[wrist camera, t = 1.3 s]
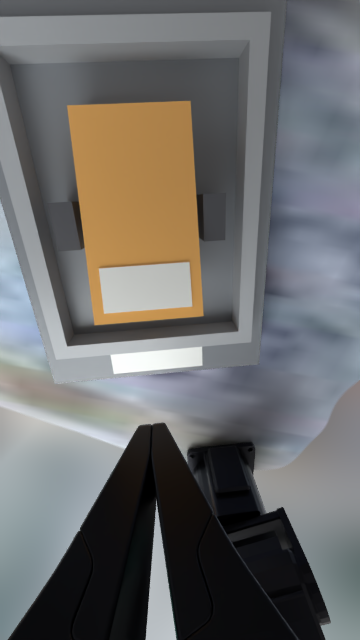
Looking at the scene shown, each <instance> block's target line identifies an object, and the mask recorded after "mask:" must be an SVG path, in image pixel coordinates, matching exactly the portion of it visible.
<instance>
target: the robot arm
mask: <svg viewBox="0 0 360 640" xmlns="http://www.w3.org/2000/svg"><path fill="white" fill-rule="evenodd" d="M192 454H193V455H192ZM254 459H255V447H254V444H253V443H240V444H231V445H222V446H213V447H204V448H195V449H190V450H188V452H187V461H188V464H187V462H186V460H185V459H184V457H183V455H182V453H181V451H180V449H179V448H178V446H177V444H176V442H175V440H174V439H173V437H172V435H171V433H170V431H169V429H168V428H167V426H166V424H165V423H155V424H153V425H151V424H146V425H140V426H139V427H138V428H137V430H136V431H135V433H134V435H133V437H132V438H131V440H130V442H129V444H128V445H127V447H126V449H125V451H124V453H123V454H122V456H121V458H120V459H119V461H118V463H117V465H116V466H115V468H114V470H113V472H112V473H111V475H110V477H109V479H108V480H107V482H106V484H105V485H104V487H103V489H102V491H101V492H100V494H99V496H98V498H97V499H96V501H95V503H94V505H93V506H92V508H91V510H90V512H89V513H88V515H87V517H86V519H85V521H84V522H83V524H82V525H81V527H80V531H78V532H77V534H76V536H75V537H74V539H73V541H72V543H71V545H70V546H69V548H68V550H67V551H66V553H65V555H64V556H63V558H62V559H61V561H60V563H59V564H58V566H57V568H56V569H55V571H54V573H53V574H52V576H51V577H50V579H49V580H48V582H47V583H46V585H45V586H44V587H43V589H42V590H41V592H40V594H39V595H38V597H37V598H36V600H35V601H34V603H33V604H32V605H31V607H30V608H29V610H28V611H27V613H26V614H25V615H24V617H23V618H22V620H21V621H20V623H19V624H18V625H17V627H16V628H15V630H14V631H13V633H12V634H11V636H10V637H9V639H8V640H145V639H146V625H147V614H148V601H149V588H150V575H151V561H152V549H153V537H154V524H155V523H154V522H155V510H156V500H157V507H158V513H159V520H160V527H161V534H162V541H163V548H164V555H165V562H166V569H167V576H168V583H169V590H170V597H171V604H172V611H173V618H174V625H175V631H176V639H177V640H325V637H324V635H323V632H322V629H321V625H325V624H329V623H331V621H330V618H329V615H328V612H327V609H326V606H325V603H324V601H323V598H322V595H321V593H320V590H319V588H318V585H317V583H316V580H315V578H314V575H313V573H312V570H311V568H310V566H309V563H308V561H307V559H306V557H305V554H304V552H303V550H302V548H301V546H300V543H299V541H298V539H297V537H296V535H295V532H294V530H293V528H292V526H291V523H290V521H289V519H288V517H287V515H286V513H285V510H284V508H283V507H281V508H278V509H277V510H276V511H273V512H270V513H266V510H265V508H264V505H263V502H262V499H261V496H260V494H259V491H258V488H257V485H256V483H255V480H254V477H253V471H254Z"/></svg>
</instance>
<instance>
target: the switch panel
mask: <svg viewBox="0 0 360 640" xmlns="http://www.w3.org/2000/svg"><path fill="white" fill-rule="evenodd" d="M286 5H287V0H0V199H1V203H2V206H3V210H4V213H5V216H6V220H7V223H8V227H9V230H10V233H11V237H12V240H13V243H14V247H15V250H16V254H17V257H18V260H19V264H20V267H21V271H22V274H23V277H24V281H25V284H26V288H27V291H28V294H29V298H30V301H31V305H32V308H33V311H34V315H35V318H36V321H37V325H38V328H39V332H40V335H41V338H42V342H43V345H44V349H45V352H46V355H47V359H48V362H49V366H50V369H51V372H52V376H53V379H54V382H55V384H58V383H68V382H79V381H89V380H100V379H110V378H121V377H131V376H142V375H152V374H163V373H173V372H184V371H194V370H205V369H216V368H226V367H237V366H247V365H258V364H259V357H260V344H261V331H262V318H263V305H264V292H265V279H266V266H267V253H268V240H269V227H270V214H271V201H272V188H273V175H274V162H275V149H276V136H277V123H278V110H279V97H280V84H281V71H282V58H283V44H284V31H285V18H286ZM171 101H191V117H192V133H193V150H194V166H195V183H196V199H197V215H198V232H199V248H200V265H201V281H202V298H203V314H204V316H200V317H188V318H176V319H164V320H152V321H140V322H128V323H116V324H104V325H94V317H93V309H92V301H91V293H90V285H89V277H88V269H87V261H86V253H85V245H84V237H83V229H82V221H81V213H80V205H79V197H78V189H77V181H76V173H75V165H74V157H73V149H72V141H71V133H70V125H69V117H68V109H67V105H92V104H118V103H145V102H171Z"/></svg>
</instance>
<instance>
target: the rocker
mask: <svg viewBox="0 0 360 640" xmlns="http://www.w3.org/2000/svg"><path fill="white" fill-rule="evenodd" d="M67 109H68V117H69V125H70V133H71V141H72V149H73V157H74V165H75V173H76V181H77V189H78V197H79V205H80V213H81V221H82V229H83V237H84V245H85V253H86V261H87V269H88V277H89V285H90V293H91V301H92V309H93V317H94V325H104V324H116V323H128V322H140V321H152V320H164V319H176V318H188V317H200V316H204V314H203V298H202V281H201V265H200V248H199V232H198V215H197V199H196V183H195V166H194V150H193V133H192V117H191V101H171V102H145V103H118V104H92V105H67Z"/></svg>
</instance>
